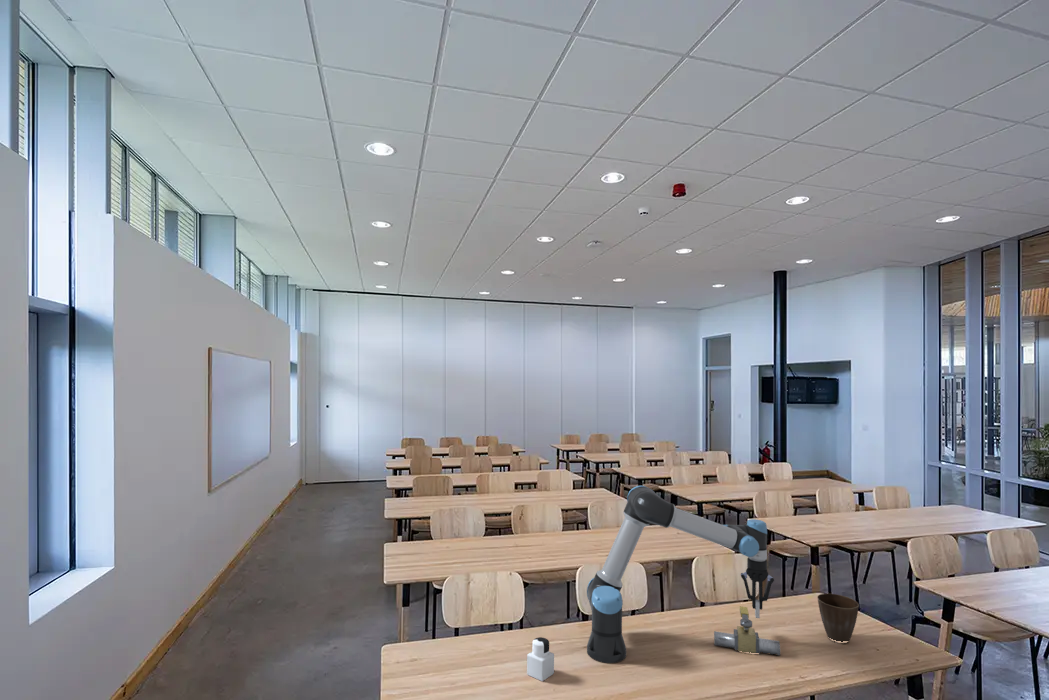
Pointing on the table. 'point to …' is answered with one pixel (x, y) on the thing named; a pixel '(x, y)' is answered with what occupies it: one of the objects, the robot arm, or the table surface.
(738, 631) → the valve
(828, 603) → the plant pot
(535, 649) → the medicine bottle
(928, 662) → the table surface
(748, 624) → the lever
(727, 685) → the table surface
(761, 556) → the robot arm
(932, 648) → the table surface
